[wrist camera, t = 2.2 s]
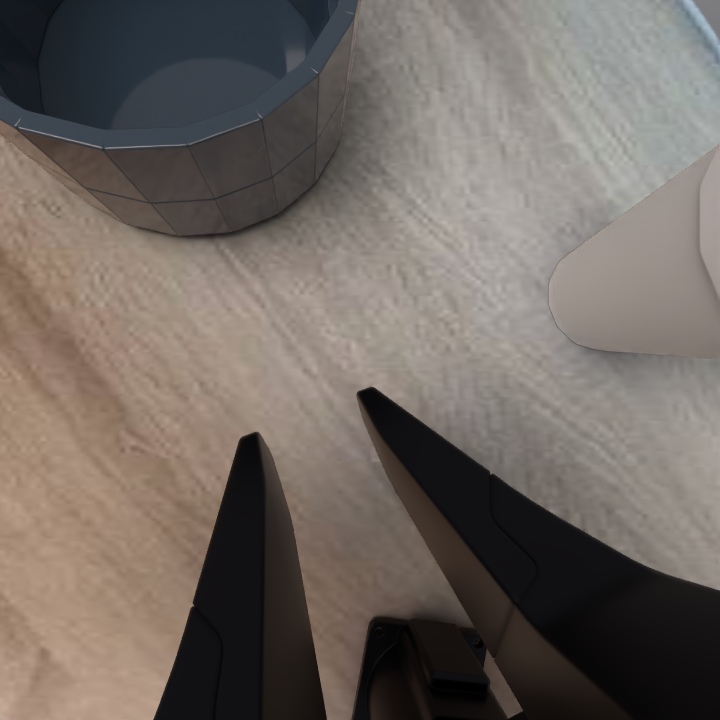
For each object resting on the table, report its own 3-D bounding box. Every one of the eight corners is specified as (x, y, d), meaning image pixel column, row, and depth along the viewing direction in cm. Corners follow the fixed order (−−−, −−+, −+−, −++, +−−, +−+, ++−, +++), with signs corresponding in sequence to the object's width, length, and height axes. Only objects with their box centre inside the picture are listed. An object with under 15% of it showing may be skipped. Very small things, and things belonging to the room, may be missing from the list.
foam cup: (506, 348, 23) (751, 309, 10) (543, 200, 24) (814, -8, 11) (650, 393, 24) (1034, 407, 11) (681, 249, 25) (1074, 111, 12)
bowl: (313, 270, 22) (316, 202, 14) (-11, 197, 20) (-239, 66, 12) (369, -3, 23) (403, -221, 15) (68, -97, 21) (-87, -406, 13)
